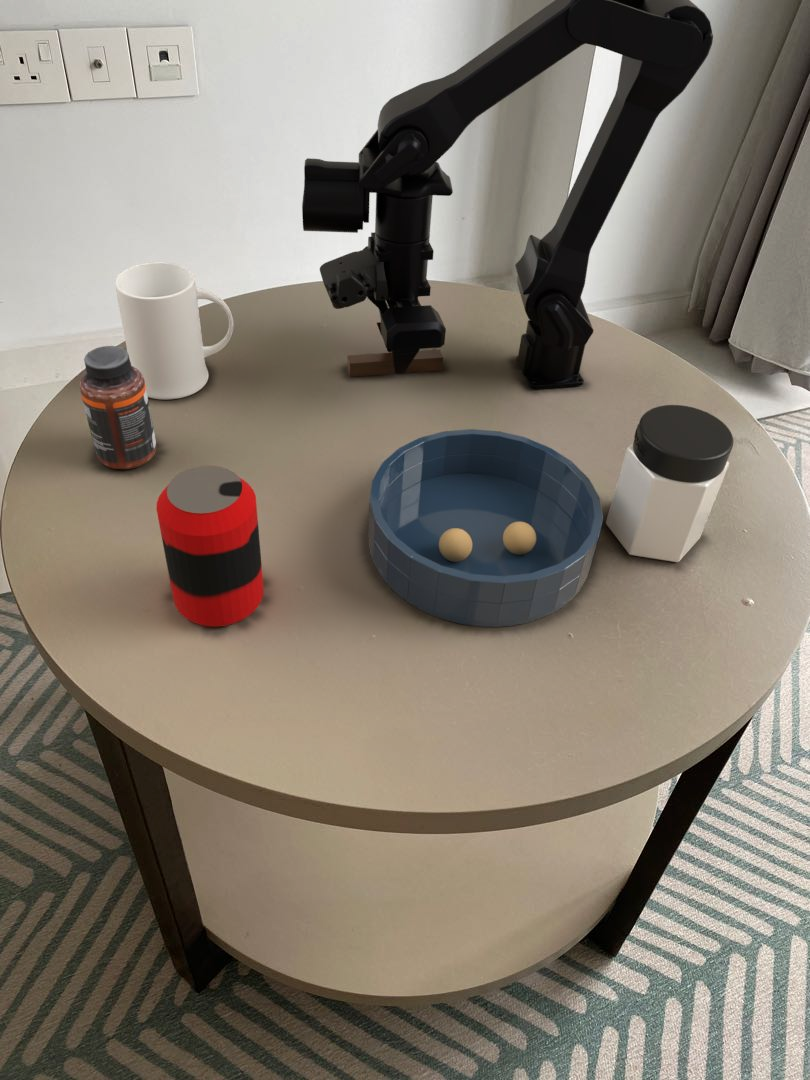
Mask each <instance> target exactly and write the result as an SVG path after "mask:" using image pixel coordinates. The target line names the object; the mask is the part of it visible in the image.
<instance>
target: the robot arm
mask: <svg viewBox="0 0 810 1080" xmlns="http://www.w3.org/2000/svg"><path fill="white" fill-rule="evenodd" d="M712 29H713V28H712V25H711V21H710V19H709V18H708V16H707V14H706V13H705V11H703V10H702V9H700V7H698V6H697V5H696V4H695V3H694V2H693V1H691V0H553V1H552V2H550V3H549V4H547V5H546V6H544V7H543V8H542V9H541V10H539V11H538V12H536V13H535V14H534V15H532V16H531V17H529V18H528V19H526V20H525V21H524V22H523V23H521V24H520V25H518V26H517V27H516V28H514V29H513V30H511V31H509V32H508V33H506V35H504V36H503V37H502V38H499V40H497V41H496V42H494V43H493V44H491V45H490V46H488V47H487V48H486V49H485V50H483V51H481V53H479V54H478V55H476V56H475V57H473V58H472V59H471V60H469V61H468V62H466V63H465V64H464V65H462V66H461V67H459V68H458V69H457V70H455V71H454V72H452V73H449V74H448V75H446V76H443V77H440V78H437V79H433V80H430V81H426V82H422V83H419V84H418V85H416V86H414V87H412V88H410V89H408V90H405V91H403V92H401V93H399V94H397V95H395V96H393V97H392V98H390V99H389V100H388V101H387V102H386V103H384V105H383V106H382V108H381V110H380V111H379V115H378V120H377V129H376V131H374V133H373V135H372V136H371V137H370V138H369V139H368V141H367V142H366V143H365V145H364V146H363V147H362V149H361V150H360V151H359V152H358V161H357V162H355V161H354V162H353V161H330V160H324V159H320V158H311V157H310V158H309V157H307V158H306V159H305V160H304V167H303V173H304V174H303V175H304V182H303V193H302V194H303V195H302V203H301V204H302V205H301V211H302V213H301V214H302V229H303V232H323V233H325V232H327V233H353V234H358V233H359V231H363V230H364V223H365V224H368V223H370V197H371V195H370V193H371V194H375V219H374V221H375V223H374V224H375V225H374V232H370V236H368V237H367V245H366V246H365V247H363V249H360V250H357V251H352V252H349V253H346V254H344V255H342V256H339V257H336V258H335V259H331V260H328V261H326V262H324V263H322V264H321V265H320V266H319V273H320V276H321V279H322V283H323V285H324V288H325V290H326V292H327V293H326V294H327V296H328V298H329V300H330V302H331V305H332V307H333V308H334V309H336V310H339V309H345V308H350V307H352V306H354V305H357V304H360V303H362V302H365V301H366V300H367V299H368V300H369V301H370V302H371V303H372V304H373V305H374V306H375V307H376V308H377V309H378V313H379V317H380V321H379V322H376V326H377V329H378V331H379V334H380V336H381V338H382V340H383V343H384V345H385V348H386V352H387V353H391V352H392V358H393V365H394V371H395V373H396V374H395V375H402V374H403V375H404V374H406V373H405V371H406V370H407V368H408V367H409V365H410V364H411V362H412V361H413V359H414V358H415V356H416V355H417V353H418V352H419V351H421V350H427V349H439V348H442V347H443V346H444V345H445V341H446V331H447V328H446V326H445V323H444V321H443V320H442V318H441V315H440V313H439V311H438V310H436V308H434V306H432V305H431V304H428V305H422V304H421V302H420V300H419V297H431V290H432V289H431V288H432V287H431V286H430V283H429V281H428V278H427V277H428V275H427V274H428V264H429V261H433V260H434V251H435V250H434V248H433V247H432V244H431V242H430V237H431V224H432V223H431V222H432V209H433V196H439V197H440V196H441V197H445V196H446V197H450V196H452V195H453V193H454V191H453V185H452V181H451V177H450V176H449V175H448V174H447V173H446V172H445V171H444V170H443V169H442V168H441V166H440V163H439V162H438V161H439V159H441V158H442V157H443V156H444V155H445V154H446V153H447V152H448V151H449V150H450V149H451V148H452V147H453V146H454V144H455V143H456V142H457V140H458V139H459V138H460V137H461V135H462V134H463V133H464V131H465V130H466V129H467V128H468V126H469V125H471V124H472V123H473V122H474V120H476V119H477V118H478V117H479V116H481V115H482V114H484V113H485V112H487V111H488V110H490V109H491V108H493V107H494V106H495V105H497V104H499V103H500V102H502V101H503V100H504V99H506V98H507V97H508V96H511V94H513V93H515V92H516V91H517V90H519V89H520V88H522V87H523V86H525V85H526V84H527V83H529V82H531V81H532V80H534V79H535V78H536V77H538V76H540V75H541V74H542V73H544V72H545V71H547V70H548V69H550V68H551V67H552V66H554V65H556V63H558V62H559V61H561V60H563V59H564V58H566V57H567V56H569V55H570V54H572V53H573V52H574V51H576V50H577V49H579V48H581V46H583V45H586V44H587V45H591V46H595V47H599V48H602V49H604V50H607V51H610V52H613V53H616V54H619V55H621V59H620V60H621V61H620V67H619V74H618V79H617V87H616V90H615V95H614V97H613V99H612V101H611V103H610V104H609V107H608V109H607V112H606V114H605V116H604V118H603V120H602V123H601V124H600V127H599V129H598V131H597V134H596V135H595V138H594V140H593V142H592V144H591V146H590V148H589V151H588V153H587V155H586V156H585V159H584V162H583V163H582V166H581V168H580V170H579V173H578V174H577V177H576V179H575V180H574V183H573V185H572V187H571V190H570V191H569V194H568V196H567V198H566V200H565V203H564V204H563V207H562V209H561V210H560V211H561V212H560V213H559V215H558V218H557V219H556V222H555V224H554V226H553V227H552V228H551V230H549V232H548V233H546V234H545V235H544V236H543V237H542V238H541V239H540V238H538V237H537V236H535V235H533V234H530V235H529V236H528V238H527V241H526V244H525V249H524V252H523V254H522V256H521V258H520V259H519V260H518V261H517V262H516V263H515V265H514V267H515V271H516V274H517V277H516V282H517V287H518V291H519V295H520V298H521V302H522V305H523V308H524V312H525V315H526V317H527V319H528V320H527V325H526V330H525V333H522V335H521V336H520V343H519V349H518V354H517V356H516V357H515V362H516V365H517V367H518V369H519V371H520V373H521V375H522V376H523V377H524V379H525V381H526V382H527V384H528V386H529V388H531V389H533V390H534V389H535V390H539V389H551V388H554V389H555V388H566V387H579V386H583V385H584V382H585V380H584V378H583V377H582V375H581V374H580V370H581V366H582V361H583V357H584V354H585V353H584V352H585V348H586V345H587V343H588V341H589V340H590V339H591V337H592V335H593V334H594V327H593V325H592V322H591V320H590V318H589V315H588V312H587V310H586V307H585V304H584V301H583V299H582V295H583V291H584V288H585V285H586V279H587V272H588V265H589V260H590V254H591V251H592V247H593V245H594V244H595V242H596V240H597V238H598V237H599V234H600V232H601V230H602V228H603V226H604V224H605V222H606V220H607V218H608V216H609V214H610V212H611V210H612V208H613V206H614V205H615V202H616V200H617V198H618V196H619V194H620V192H621V190H622V188H623V186H624V184H625V182H626V180H627V178H628V176H629V174H630V172H631V171H632V168H633V166H634V164H635V162H636V160H637V158H638V156H639V154H640V152H641V150H642V148H643V146H644V144H645V143H646V140H647V138H648V136H649V134H650V133H651V130H652V128H653V126H654V124H655V122H656V120H657V118H658V117H659V116H660V114H661V113H662V112H664V110H665V109H666V108H667V107H668V106H669V105H671V103H672V102H673V101H675V100H676V99H677V98H678V97H679V96H680V95H681V94H682V93H683V92H684V91H685V89H686V88H687V87H688V85H689V84H690V82H691V81H692V79H694V77H695V75H696V74H697V72H698V71H699V70H700V68H701V67H702V65H703V64H704V62H705V61H706V59H707V58H708V56H709V53H710V51H711V49H712V46H713V41H714V34H713V30H712Z"/></svg>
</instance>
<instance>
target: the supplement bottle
mask: <svg viewBox="0 0 810 1080" xmlns="http://www.w3.org/2000/svg"><path fill="white" fill-rule="evenodd" d="M83 360H84V366H85V373H84V374H83V375H82V376H81V379H80V382H79V390H80V391H79V392H80V395H81V400H82V404H83V409H84V412H85V416H86V419H87V423H88V428H89V432H90V436H91V439H92V444H93V447H94V452H95V454H96V457H97V459H98V461H99V462H100V463H101V464H102V465H104V466H105V467H108V468H111V469H115V470H130V469H134V468H135V469H136V468H138V467H140V466H143V465H145V464H147V463H148V462H149V461H151V460H152V459H153V457H154V456H155V454H156V452H157V448H158V447H157V439H156V435H155V429H154V424H153V423H154V422H153V418H152V413H151V407H150V402H149V401H150V400H149V397H148V396H147V391H146V386H145V381H144V378H143V375H142V374H141V372H140V371H139V370H138V369H137V368H135V367H133V366H131V362H130V359H129V354H128V352H127V349H126V348H123V347H120V346H116V345H103V346H99V347H95V348H94V349H91V350H89V351H88V352H87V353H86V354H85V356H84V359H83Z"/></svg>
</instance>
